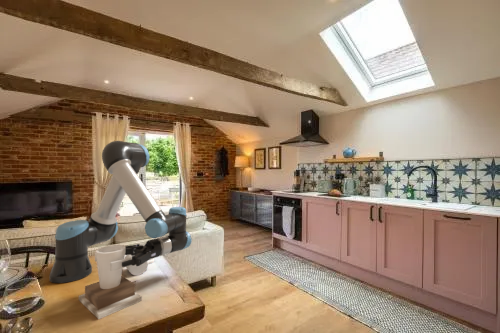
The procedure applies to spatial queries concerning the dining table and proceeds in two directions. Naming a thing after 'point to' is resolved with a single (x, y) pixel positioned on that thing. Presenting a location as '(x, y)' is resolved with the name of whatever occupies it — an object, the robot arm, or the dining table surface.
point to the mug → (138, 267)
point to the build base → (111, 307)
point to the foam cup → (103, 264)
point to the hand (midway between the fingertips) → (102, 262)
